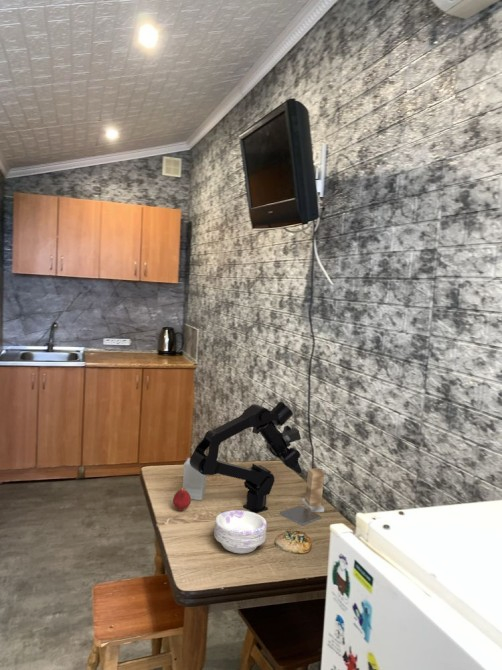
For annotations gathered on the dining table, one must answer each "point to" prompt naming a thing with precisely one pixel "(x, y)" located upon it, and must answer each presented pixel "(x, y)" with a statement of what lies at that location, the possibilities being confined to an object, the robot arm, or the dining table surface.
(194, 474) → the supplement box
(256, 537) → the paper bowls
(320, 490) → the block
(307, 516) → the steel plate
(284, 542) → the bread roll
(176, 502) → the red pointed oval piece
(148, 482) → the dining table surface
